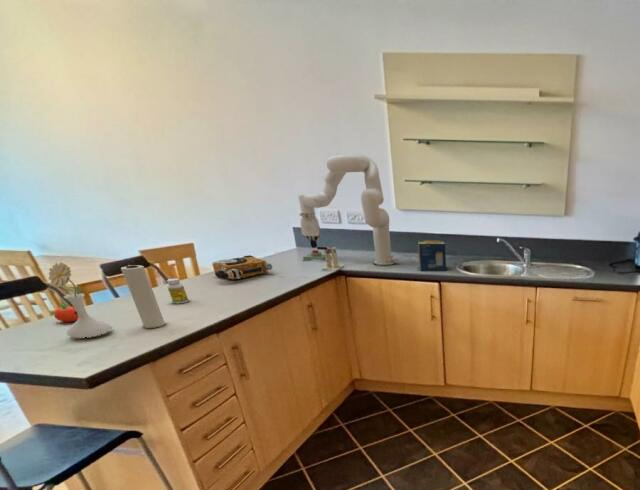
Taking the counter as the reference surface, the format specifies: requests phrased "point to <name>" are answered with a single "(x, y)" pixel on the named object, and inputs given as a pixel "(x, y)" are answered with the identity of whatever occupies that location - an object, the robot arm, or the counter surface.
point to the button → (315, 251)
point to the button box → (314, 256)
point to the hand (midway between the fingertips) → (314, 247)
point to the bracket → (328, 259)
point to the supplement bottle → (177, 291)
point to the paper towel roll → (143, 296)
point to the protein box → (432, 255)
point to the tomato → (66, 314)
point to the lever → (325, 249)
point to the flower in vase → (77, 305)
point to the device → (240, 267)
